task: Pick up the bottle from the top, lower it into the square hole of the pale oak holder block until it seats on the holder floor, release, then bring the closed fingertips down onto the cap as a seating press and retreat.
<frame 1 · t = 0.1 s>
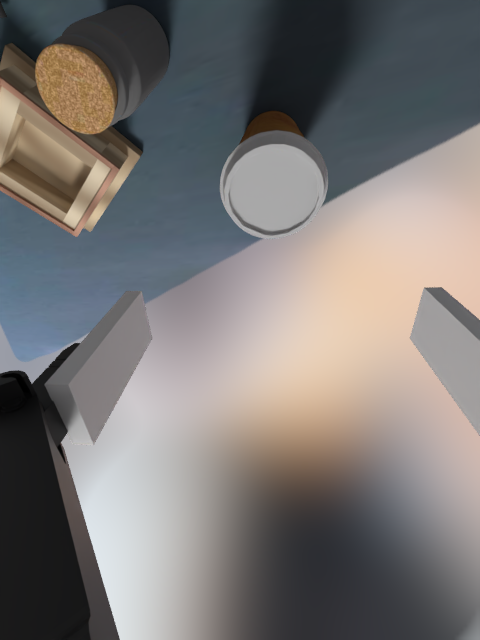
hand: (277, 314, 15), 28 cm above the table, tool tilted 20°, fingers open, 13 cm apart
holder block: (60, 153, 37), on the table
disposable coffee cup: (271, 142, 35), on the table
bottle: (139, 47, 30), on the table
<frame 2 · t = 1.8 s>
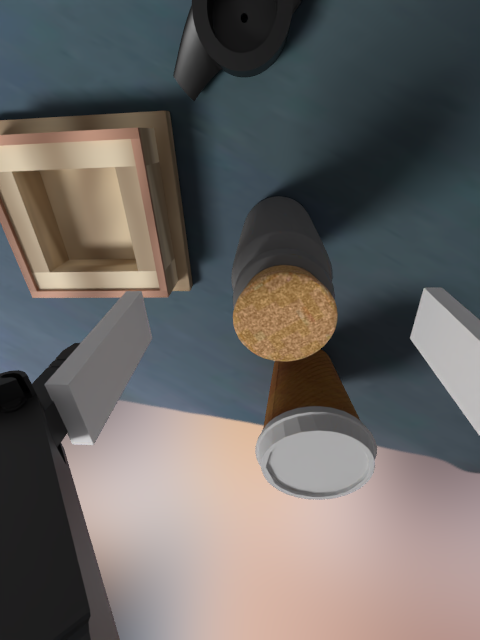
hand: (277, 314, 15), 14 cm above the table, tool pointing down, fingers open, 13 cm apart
holder block: (104, 212, 27), on the table
dark winged oval cup: (245, 22, 21), on the table
disposable coffee cup: (302, 366, 35), on the table
bottle: (277, 230, 27), on the table
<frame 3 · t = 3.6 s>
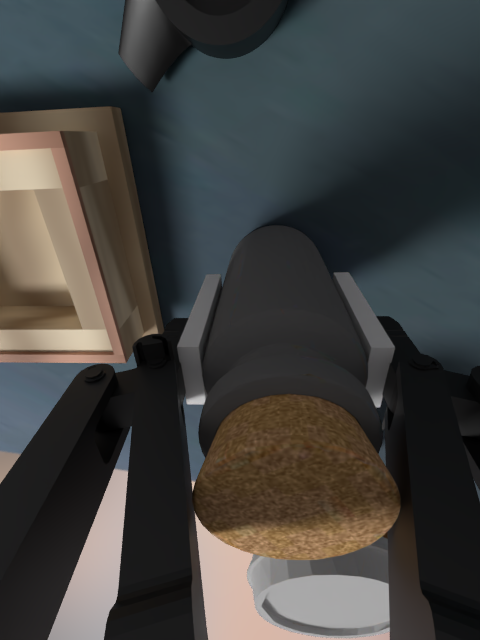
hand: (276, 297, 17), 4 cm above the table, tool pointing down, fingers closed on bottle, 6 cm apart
holder block: (41, 245, 20), on the table
disposable coffee cup: (307, 429, 28), on the table
bottle: (274, 269, 20), on the table, touching gripper
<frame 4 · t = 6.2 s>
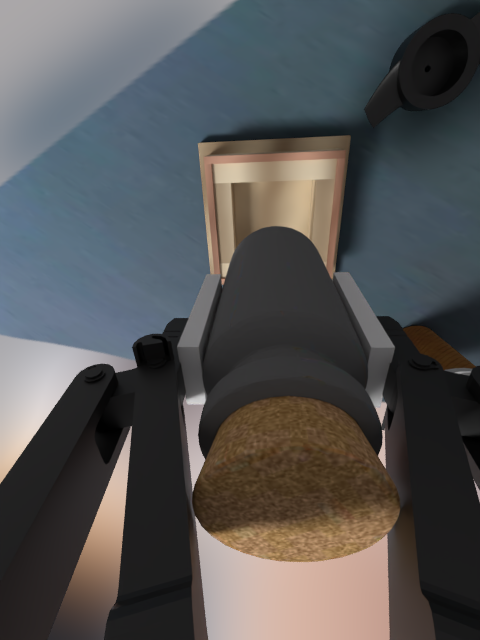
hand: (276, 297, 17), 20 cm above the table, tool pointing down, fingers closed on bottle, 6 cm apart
holder block: (272, 214, 33), on the table
dark winged oval cup: (422, 71, 27), on the table
disposable coffee cup: (410, 345, 41), on the table
bottle: (274, 269, 20), point 16 cm above the table, touching gripper
when the fingers open (6 cm above the table, at t = 8.6 s): bottle stays where it is, resting on holder block.
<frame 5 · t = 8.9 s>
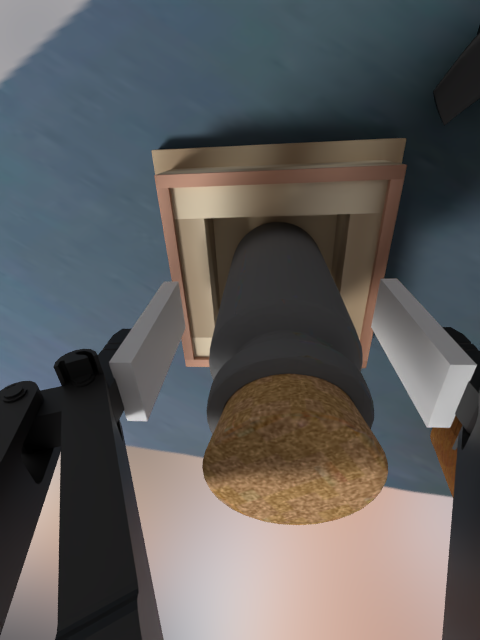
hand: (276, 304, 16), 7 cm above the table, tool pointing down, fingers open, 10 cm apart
holder block: (273, 258, 22), on the table
disposable coffee cup: (465, 429, 29), on the table
bottle: (276, 264, 21), point 1 cm above the table, touching holder block
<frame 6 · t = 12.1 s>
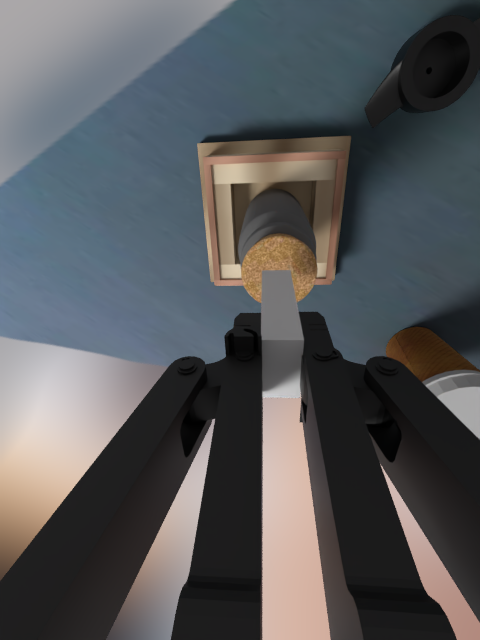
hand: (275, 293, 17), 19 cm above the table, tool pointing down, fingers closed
holder block: (271, 215, 33), on the table
dark winged oval cup: (423, 72, 27), on the table
disposable coffee cup: (410, 346, 41), on the table
bottle: (273, 218, 32), point 1 cm above the table, touching holder block
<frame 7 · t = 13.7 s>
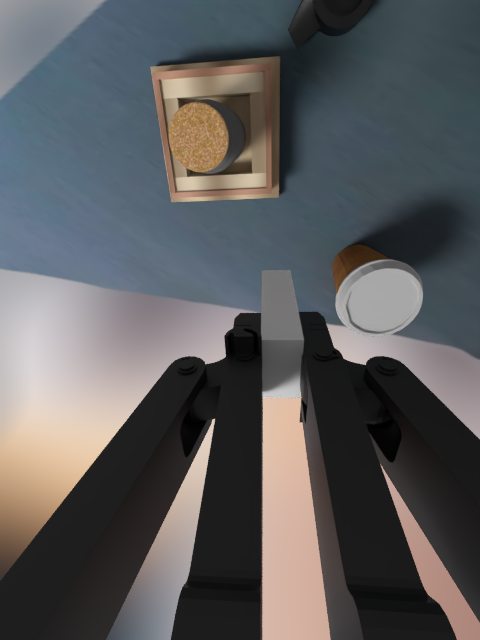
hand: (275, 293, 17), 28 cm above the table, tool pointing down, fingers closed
holder block: (220, 137, 38), on the table
disposable coffee cup: (354, 265, 45), on the table
bottle: (221, 137, 37), point 1 cm above the table, touching holder block
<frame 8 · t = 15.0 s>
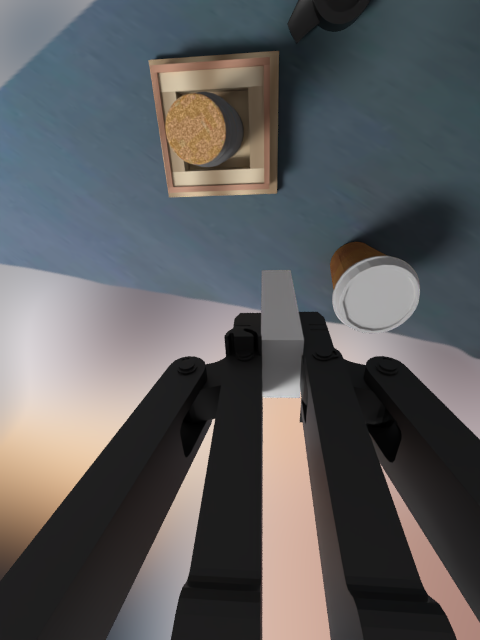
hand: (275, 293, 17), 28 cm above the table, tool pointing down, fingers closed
holder block: (219, 132, 38), on the table
disposable coffee cup: (352, 262, 45), on the table
bottle: (219, 132, 37), point 1 cm above the table, touching holder block
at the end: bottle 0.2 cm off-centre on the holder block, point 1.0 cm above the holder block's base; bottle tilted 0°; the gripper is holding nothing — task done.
